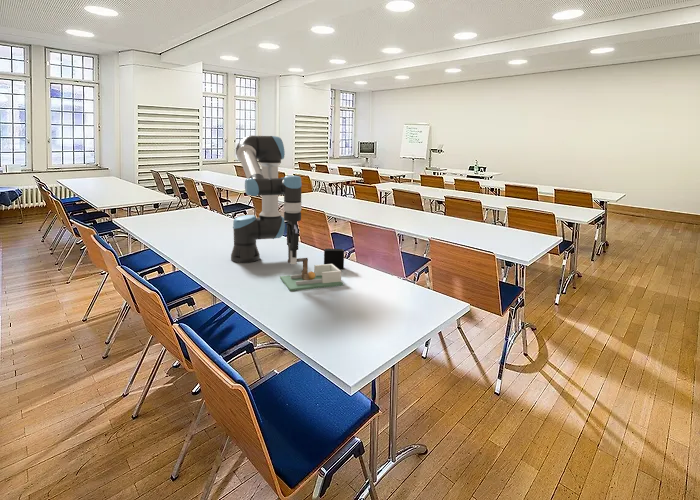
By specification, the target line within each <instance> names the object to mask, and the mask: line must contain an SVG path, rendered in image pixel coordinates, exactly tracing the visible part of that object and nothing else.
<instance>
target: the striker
mask: <svg viewBox="0 0 700 500" xmlns="http://www.w3.org/2000/svg"><path fill="white" fill-rule="evenodd" d="M287 249H288V250H287V251H288V252H287V253H288V254H287V255H288V259H287V263H288V264H290V249H291V243H288V245H287ZM308 260H309V258H308V257H302V258H301V257H300V258H298V257H297V263H302V270H301V274H302V279H303V280H309V274H308V272H309V270H308V267H309V263H308V262H309V261H308Z"/></svg>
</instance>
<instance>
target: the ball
mask: <svg viewBox="0 0 700 500" xmlns="http://www.w3.org/2000/svg"><path fill="white" fill-rule="evenodd" d="M308 274H309V280H313V279H314V278H315V273H314V271H311V270H310V271H308Z"/></svg>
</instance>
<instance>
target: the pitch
mask: <svg viewBox="0 0 700 500" xmlns="http://www.w3.org/2000/svg"><path fill="white" fill-rule="evenodd" d="M313 272H314V273H315V278H314V279H313V280H303V279H302V273H300V274H290V275H281V276H279V279H280V280H281V281H282V283H283V284H284V286H285V287H287V289H288V290H289V292H294V291H302V290H312V289H321V288H322V289H323V288H331V287H332V288H333V287H341V286H344V283H343V281H342V270H339V269H338V268H337V267H335V266H334V265H333V264H324V263H323V264H314V267H313Z"/></svg>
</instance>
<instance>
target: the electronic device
mask: <svg viewBox="0 0 700 500" xmlns="http://www.w3.org/2000/svg"><path fill="white" fill-rule="evenodd" d="M323 253H324V254H323V256H324V257H323V264H333V265H334V266H335V267H337V268H338V269H339V270H340V271H342V270H344V269H345V267H344V266H345V265H344V264H345V250H344V249H343V248H324V249H323Z"/></svg>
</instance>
